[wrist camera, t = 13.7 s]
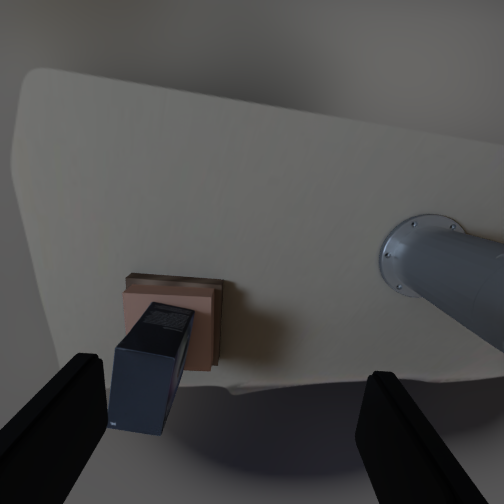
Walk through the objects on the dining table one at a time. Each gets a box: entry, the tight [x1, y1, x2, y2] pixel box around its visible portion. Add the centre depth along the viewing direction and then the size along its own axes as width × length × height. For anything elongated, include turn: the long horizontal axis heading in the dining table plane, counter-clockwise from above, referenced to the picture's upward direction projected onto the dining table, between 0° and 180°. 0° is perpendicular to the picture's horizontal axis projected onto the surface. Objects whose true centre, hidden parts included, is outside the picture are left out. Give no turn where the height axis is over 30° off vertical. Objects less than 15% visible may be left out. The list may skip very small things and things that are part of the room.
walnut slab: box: [126, 273, 223, 366], centre depth 42 cm, size 14×14×3 cm
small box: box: [107, 302, 195, 436], centre depth 32 cm, size 11×6×10 cm, turn 167°
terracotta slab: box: [123, 284, 214, 371], centre depth 39 cm, size 12×12×3 cm
